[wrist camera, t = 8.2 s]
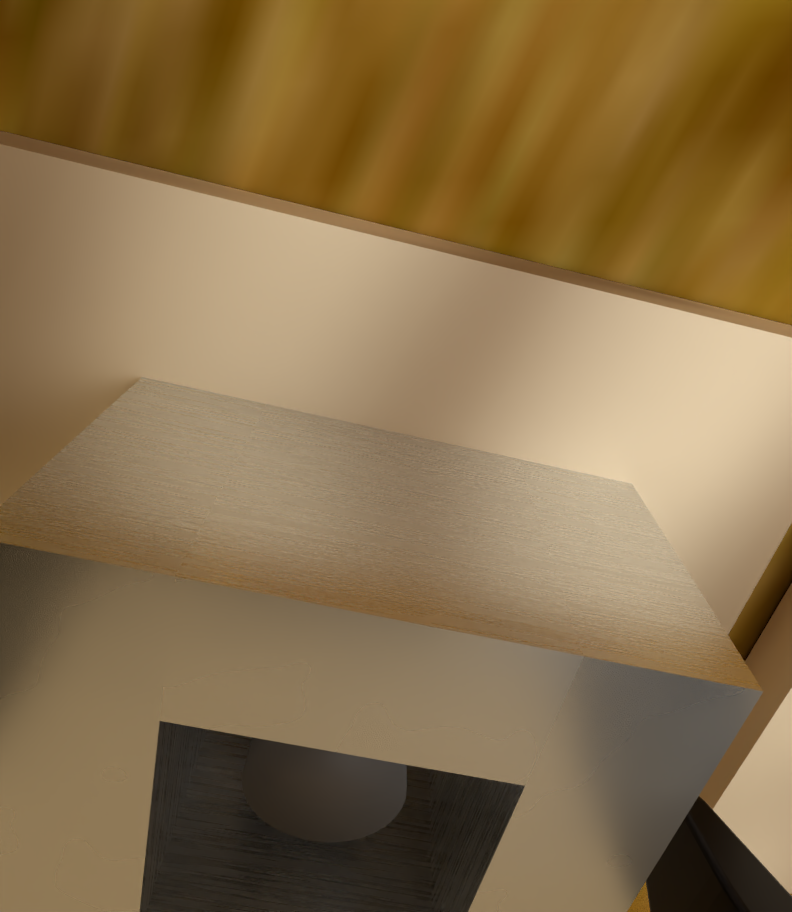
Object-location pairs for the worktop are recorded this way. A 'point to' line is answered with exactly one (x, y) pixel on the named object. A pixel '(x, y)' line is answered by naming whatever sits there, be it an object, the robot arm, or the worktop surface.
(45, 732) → the collar
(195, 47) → the worktop surface
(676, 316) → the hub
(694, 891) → the robot arm
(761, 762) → the stand
